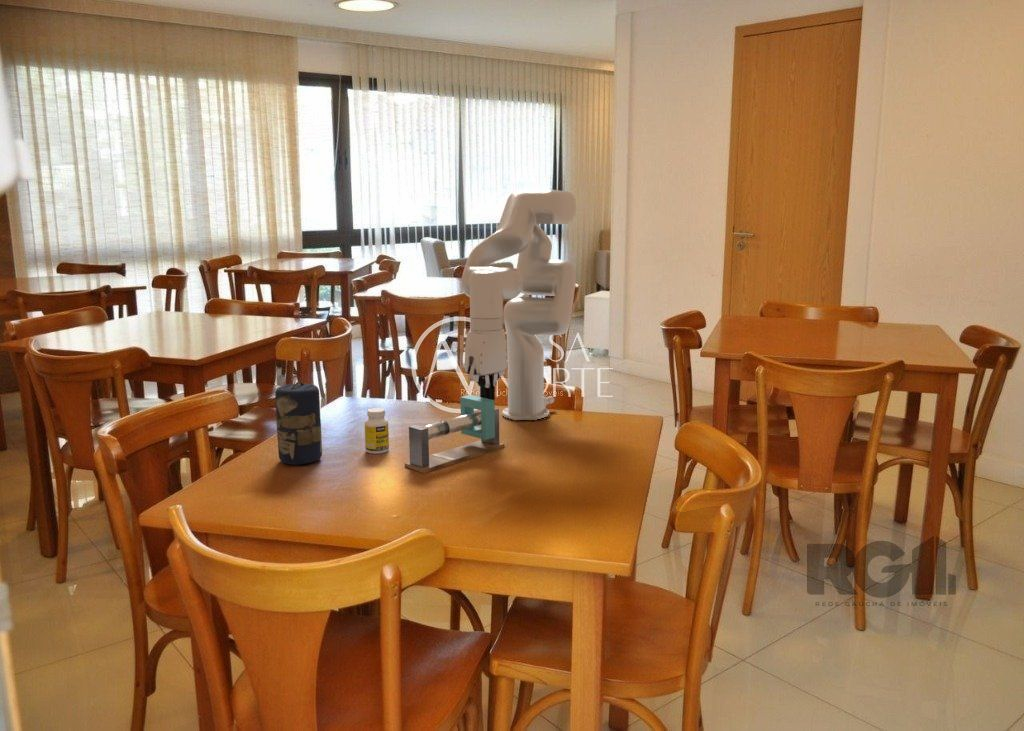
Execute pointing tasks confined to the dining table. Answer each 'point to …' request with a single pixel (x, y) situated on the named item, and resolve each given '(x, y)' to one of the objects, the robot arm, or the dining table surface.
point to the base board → (456, 455)
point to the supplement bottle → (376, 431)
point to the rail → (423, 434)
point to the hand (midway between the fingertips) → (487, 402)
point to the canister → (298, 423)
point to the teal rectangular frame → (486, 416)
